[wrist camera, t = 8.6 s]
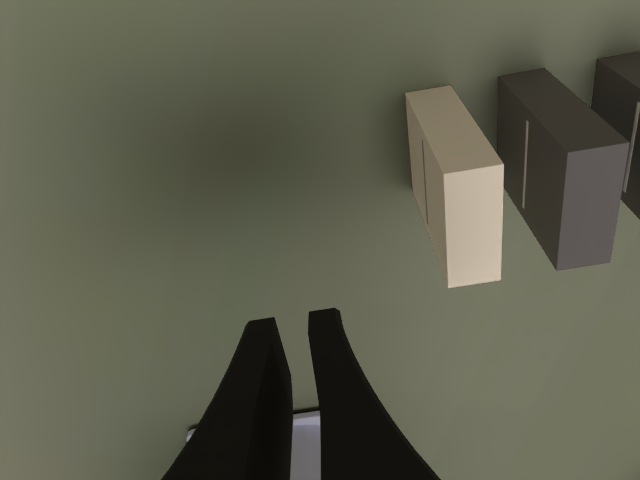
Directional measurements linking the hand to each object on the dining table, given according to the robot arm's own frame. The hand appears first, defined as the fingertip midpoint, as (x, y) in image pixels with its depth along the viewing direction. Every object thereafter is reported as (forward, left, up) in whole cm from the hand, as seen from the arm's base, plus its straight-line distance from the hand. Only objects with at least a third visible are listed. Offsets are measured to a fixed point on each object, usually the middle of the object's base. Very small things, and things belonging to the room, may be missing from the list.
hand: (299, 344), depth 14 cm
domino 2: (+8, 0, -9) cm, 13 cm away
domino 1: (+5, 0, -9) cm, 11 cm away
